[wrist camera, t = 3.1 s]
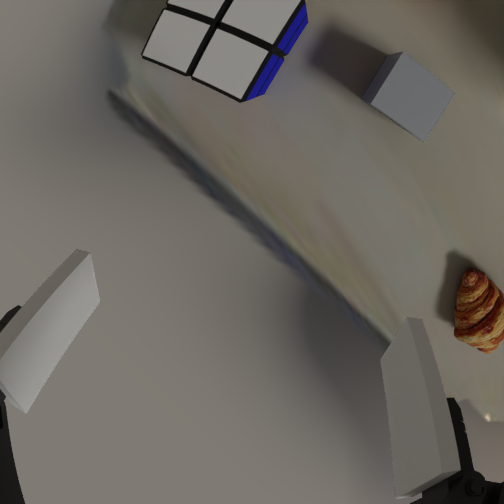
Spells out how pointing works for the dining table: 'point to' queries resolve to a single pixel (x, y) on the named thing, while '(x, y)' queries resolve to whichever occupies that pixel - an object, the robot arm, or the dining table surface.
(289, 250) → the dining table surface
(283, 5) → the puzzle cube
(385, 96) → the slate grey block
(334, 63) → the dining table surface
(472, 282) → the croissant
